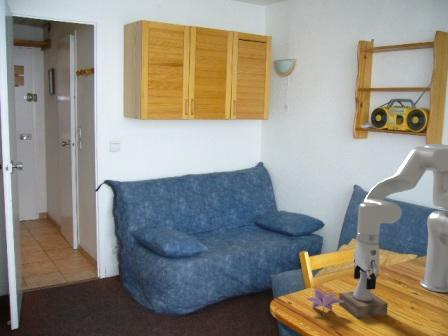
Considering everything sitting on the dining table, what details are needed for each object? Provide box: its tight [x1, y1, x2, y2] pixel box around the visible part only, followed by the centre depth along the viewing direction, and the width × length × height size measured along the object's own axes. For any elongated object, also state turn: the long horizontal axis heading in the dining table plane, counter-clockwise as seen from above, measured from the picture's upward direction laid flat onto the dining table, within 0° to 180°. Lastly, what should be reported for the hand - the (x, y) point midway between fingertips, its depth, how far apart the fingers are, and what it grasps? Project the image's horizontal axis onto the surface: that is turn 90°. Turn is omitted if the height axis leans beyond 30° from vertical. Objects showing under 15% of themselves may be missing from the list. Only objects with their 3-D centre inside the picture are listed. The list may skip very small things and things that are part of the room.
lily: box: [305, 288, 344, 319], centre depth 164 cm, size 12×12×10 cm
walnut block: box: [338, 291, 389, 320], centre depth 169 cm, size 12×12×5 cm
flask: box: [352, 270, 373, 301], centre depth 168 cm, size 7×7×10 cm
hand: (364, 283), depth 168 cm, fingers open, 9 cm apart
